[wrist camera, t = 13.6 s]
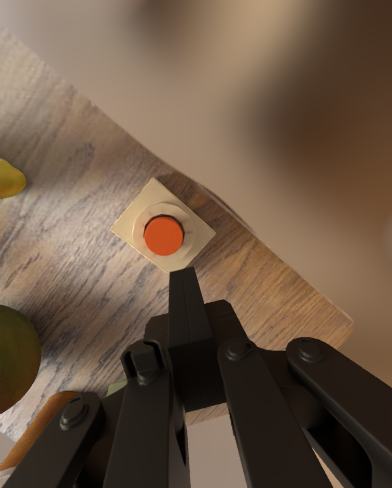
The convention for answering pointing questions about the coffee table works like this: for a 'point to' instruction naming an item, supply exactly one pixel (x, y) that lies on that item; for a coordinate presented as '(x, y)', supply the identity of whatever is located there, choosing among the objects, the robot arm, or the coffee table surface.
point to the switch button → (163, 236)
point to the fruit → (17, 356)
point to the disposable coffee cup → (32, 434)
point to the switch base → (157, 205)
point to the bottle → (10, 180)
